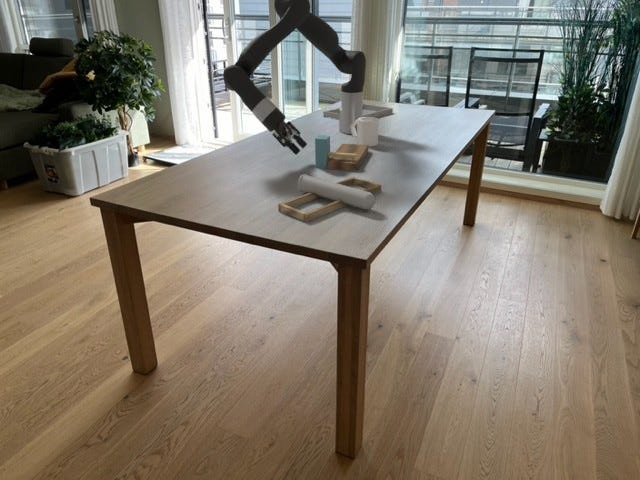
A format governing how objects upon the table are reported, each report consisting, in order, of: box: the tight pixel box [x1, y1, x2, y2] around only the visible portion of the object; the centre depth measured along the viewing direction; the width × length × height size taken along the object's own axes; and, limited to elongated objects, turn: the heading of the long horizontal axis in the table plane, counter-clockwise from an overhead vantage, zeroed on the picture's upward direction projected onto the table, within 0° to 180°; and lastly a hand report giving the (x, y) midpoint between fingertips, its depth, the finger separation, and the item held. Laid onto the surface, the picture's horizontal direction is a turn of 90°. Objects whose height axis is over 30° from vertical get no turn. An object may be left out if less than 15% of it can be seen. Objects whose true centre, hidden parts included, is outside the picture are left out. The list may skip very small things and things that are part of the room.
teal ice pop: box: [314, 134, 356, 169], centre depth 163 cm, size 14×5×10 cm, turn 75°
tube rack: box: [277, 176, 382, 223], centre depth 136 cm, size 11×31×2 cm, turn 135°
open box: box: [326, 143, 369, 172], centre depth 172 cm, size 10×24×3 cm, turn 165°
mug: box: [350, 117, 380, 147], centre depth 190 cm, size 12×9×10 cm
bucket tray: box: [322, 103, 394, 120], centre depth 241 cm, size 21×29×2 cm
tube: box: [297, 173, 377, 211], centre depth 134 cm, size 5×5×25 cm
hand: (301, 149), depth 165 cm, fingers open, 8 cm apart
